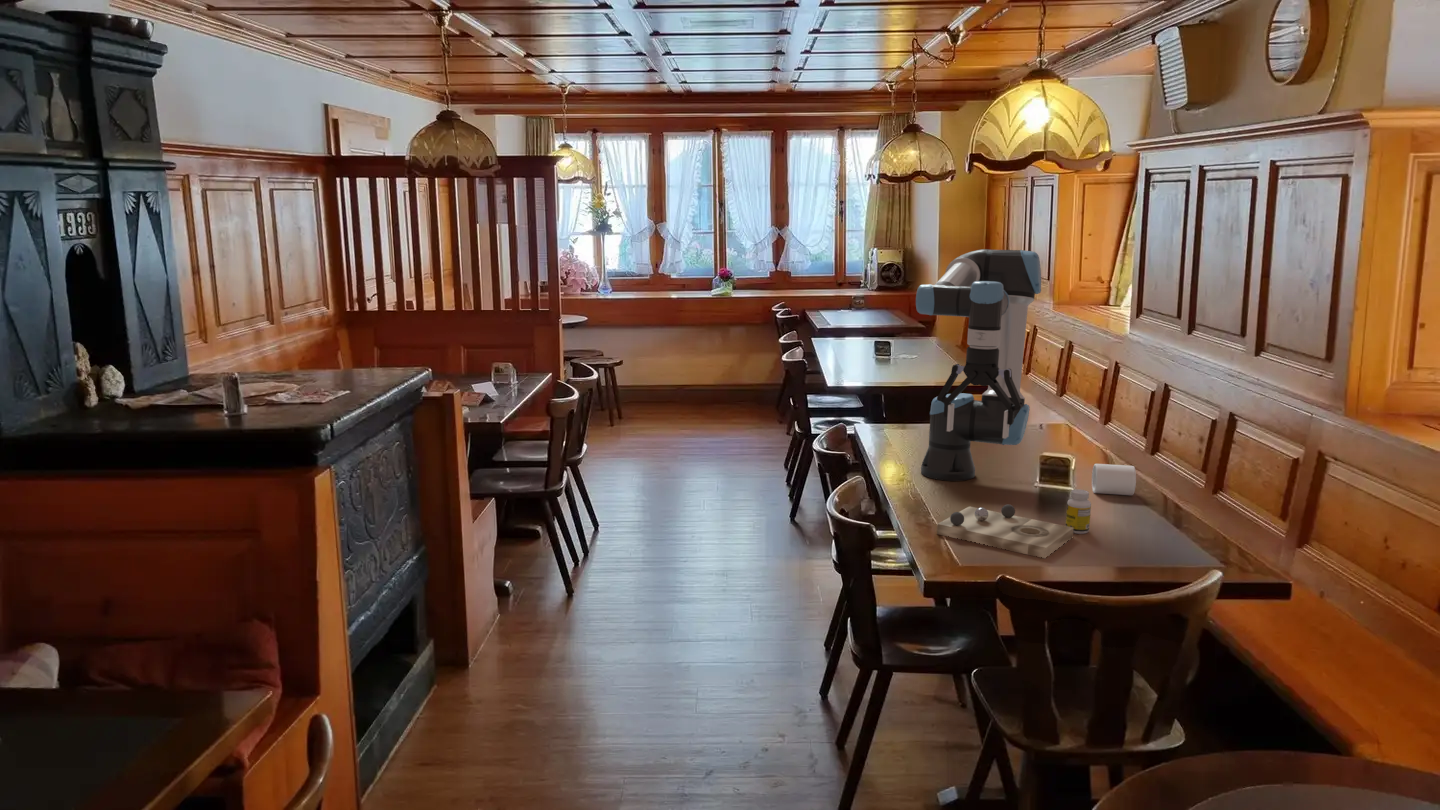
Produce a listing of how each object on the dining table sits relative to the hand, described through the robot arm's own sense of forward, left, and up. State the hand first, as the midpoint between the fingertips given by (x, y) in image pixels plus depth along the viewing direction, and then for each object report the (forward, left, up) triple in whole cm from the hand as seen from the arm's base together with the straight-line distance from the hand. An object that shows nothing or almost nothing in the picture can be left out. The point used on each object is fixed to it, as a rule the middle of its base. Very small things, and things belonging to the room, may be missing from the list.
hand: (977, 434), depth 245 cm
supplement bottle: (+23, +9, -22) cm, 33 cm away
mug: (+19, +49, -22) cm, 57 cm away
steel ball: (+5, -6, -18) cm, 19 cm away
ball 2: (+9, +1, -18) cm, 20 cm away
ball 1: (+2, -13, -18) cm, 22 cm away
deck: (+11, -6, -22) cm, 25 cm away
